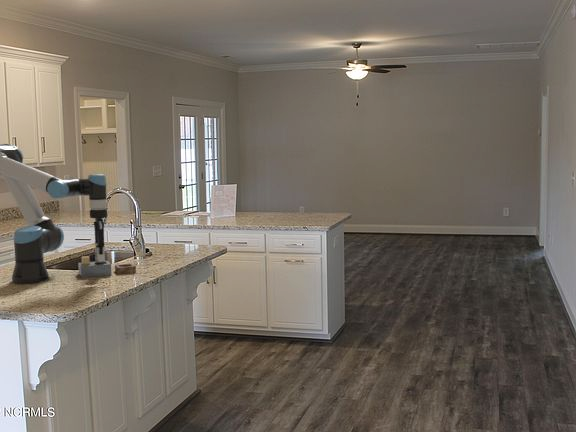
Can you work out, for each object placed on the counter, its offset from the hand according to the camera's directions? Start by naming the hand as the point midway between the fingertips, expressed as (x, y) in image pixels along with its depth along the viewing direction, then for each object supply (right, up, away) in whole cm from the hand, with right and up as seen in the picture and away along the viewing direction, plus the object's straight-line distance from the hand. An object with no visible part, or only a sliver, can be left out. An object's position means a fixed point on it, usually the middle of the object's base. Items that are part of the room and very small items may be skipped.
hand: (100, 260), depth 302 cm
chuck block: (-2, -7, 0) cm, 8 cm away
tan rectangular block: (-6, -5, -2) cm, 8 cm away
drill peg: (0, -6, +1) cm, 6 cm away
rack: (+10, -7, +5) cm, 13 cm away
